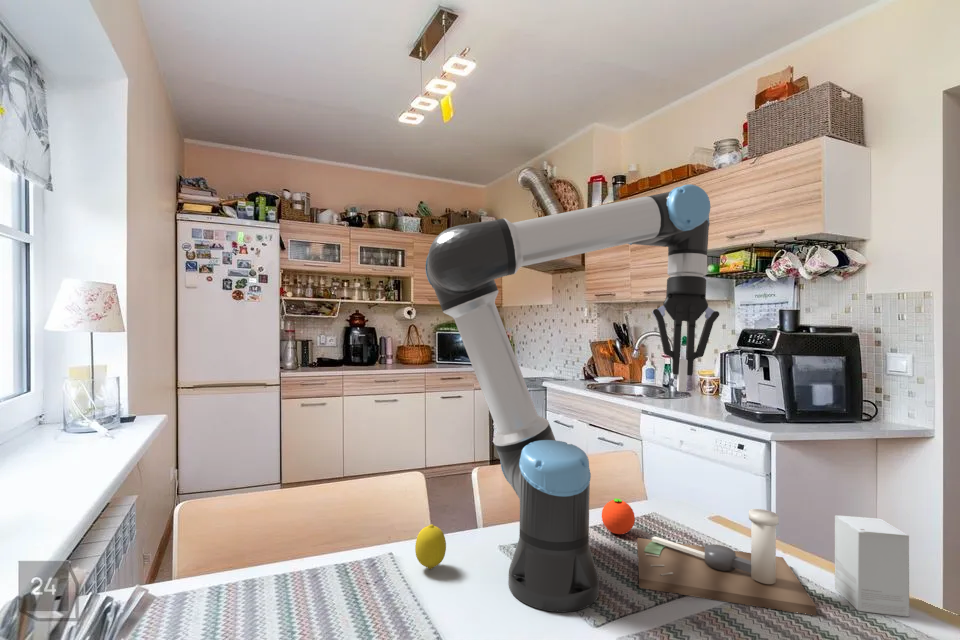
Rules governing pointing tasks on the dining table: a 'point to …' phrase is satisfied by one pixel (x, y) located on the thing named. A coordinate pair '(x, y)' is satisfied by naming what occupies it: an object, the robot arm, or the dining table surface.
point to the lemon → (430, 546)
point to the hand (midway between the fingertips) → (681, 391)
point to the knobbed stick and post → (761, 549)
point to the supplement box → (872, 565)
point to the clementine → (618, 516)
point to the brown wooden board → (718, 579)
